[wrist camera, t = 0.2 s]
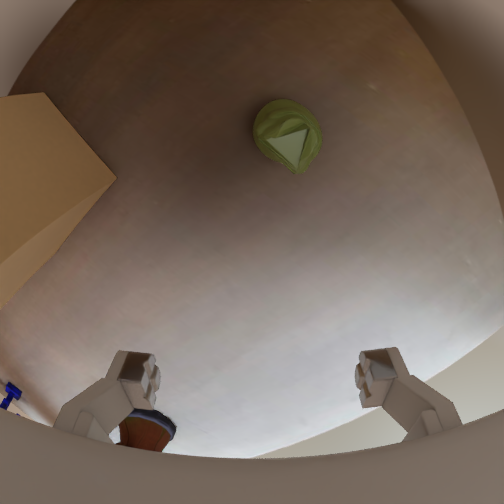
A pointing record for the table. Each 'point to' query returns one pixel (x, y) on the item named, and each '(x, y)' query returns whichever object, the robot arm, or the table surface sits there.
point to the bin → (41, 185)
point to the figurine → (10, 395)
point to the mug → (146, 430)
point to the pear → (288, 134)
